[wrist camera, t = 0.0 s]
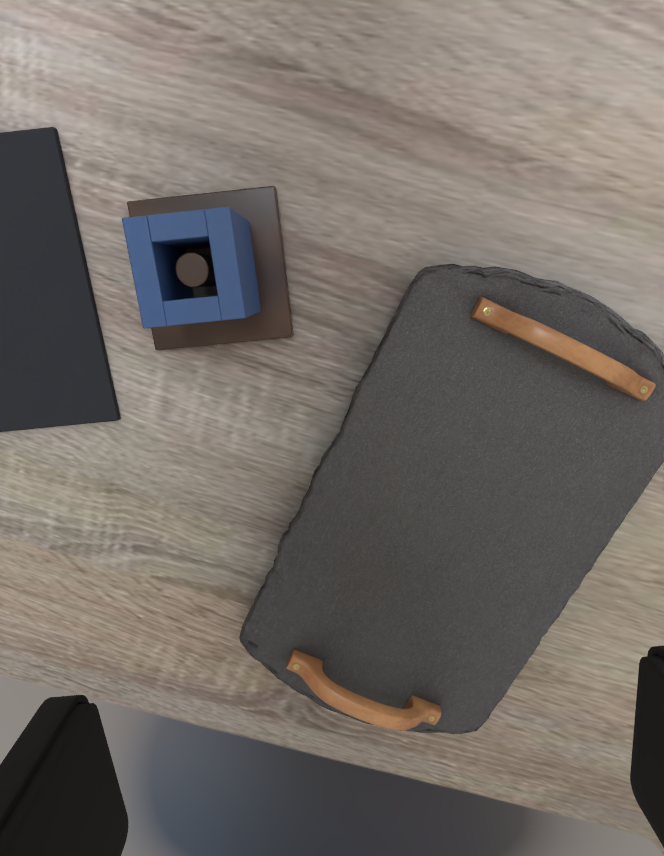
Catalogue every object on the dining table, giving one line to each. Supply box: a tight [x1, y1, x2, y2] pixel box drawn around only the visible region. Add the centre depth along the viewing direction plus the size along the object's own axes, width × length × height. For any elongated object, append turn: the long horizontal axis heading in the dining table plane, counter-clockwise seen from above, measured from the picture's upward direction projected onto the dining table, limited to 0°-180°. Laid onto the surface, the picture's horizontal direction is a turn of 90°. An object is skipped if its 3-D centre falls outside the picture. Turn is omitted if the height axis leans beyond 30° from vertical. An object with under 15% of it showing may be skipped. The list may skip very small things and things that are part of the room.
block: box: [122, 207, 261, 328], centre depth 32 cm, size 6×6×7 cm
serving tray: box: [239, 264, 664, 734], centre depth 39 cm, size 39×23×6 cm, turn 155°
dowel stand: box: [127, 186, 293, 350], centre depth 33 cm, size 10×10×6 cm
